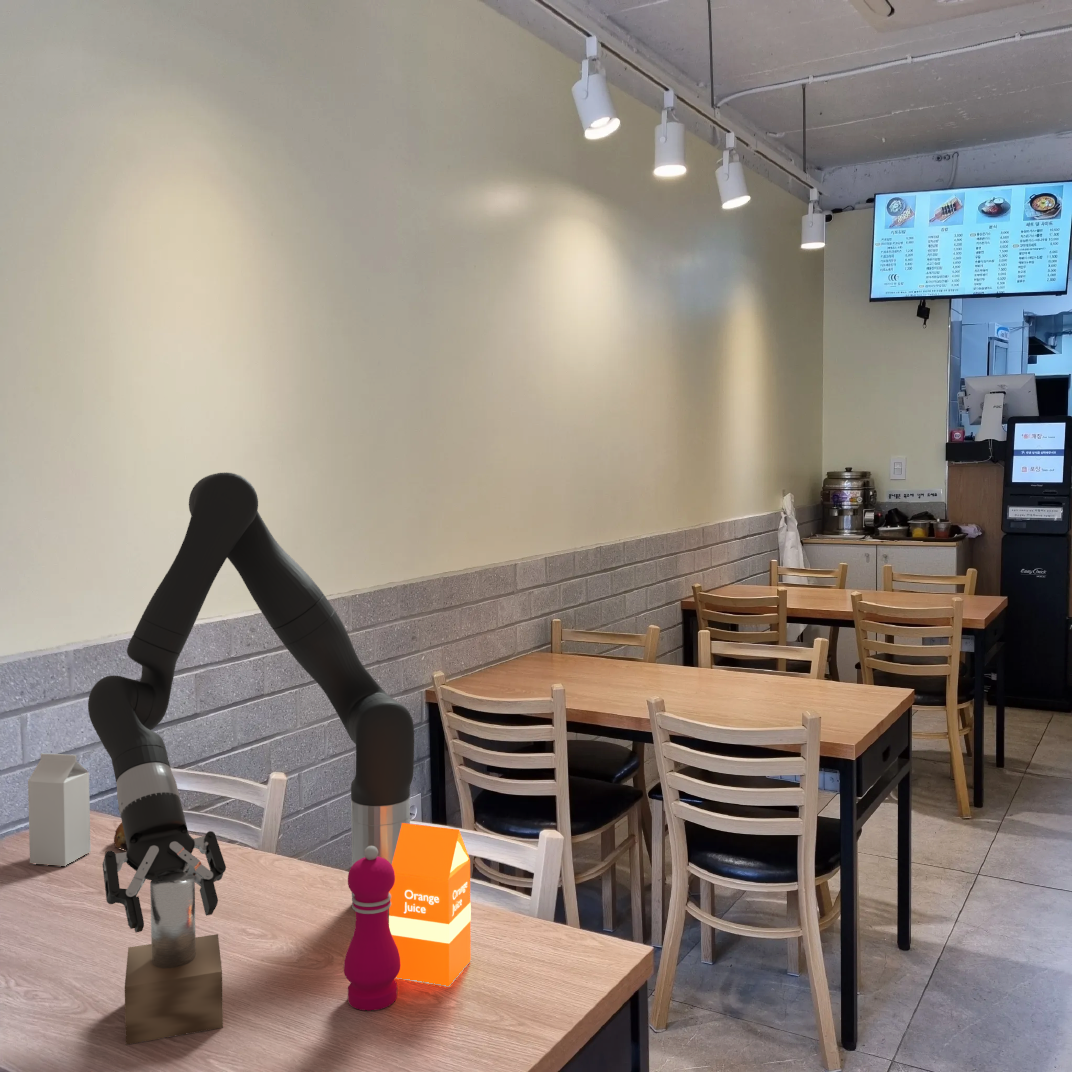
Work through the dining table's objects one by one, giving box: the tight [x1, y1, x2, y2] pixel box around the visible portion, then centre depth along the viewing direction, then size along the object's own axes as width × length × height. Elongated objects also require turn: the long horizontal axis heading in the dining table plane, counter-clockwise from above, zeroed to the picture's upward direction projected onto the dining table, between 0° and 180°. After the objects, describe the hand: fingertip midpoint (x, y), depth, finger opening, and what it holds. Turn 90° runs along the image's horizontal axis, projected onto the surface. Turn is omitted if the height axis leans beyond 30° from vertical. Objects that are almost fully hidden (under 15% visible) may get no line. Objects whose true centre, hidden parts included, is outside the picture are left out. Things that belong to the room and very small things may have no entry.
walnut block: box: [124, 933, 224, 1045], centre depth 125 cm, size 11×11×7 cm
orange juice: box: [388, 823, 472, 986], centre depth 136 cm, size 8×9×20 cm
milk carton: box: [27, 753, 91, 867], centre depth 178 cm, size 7×7×19 cm
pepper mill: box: [343, 846, 401, 1012], centre depth 128 cm, size 7×7×20 cm
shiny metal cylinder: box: [149, 872, 197, 968], centre depth 125 cm, size 5×5×10 cm
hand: (176, 920), depth 123 cm, fingers open, 8 cm apart
